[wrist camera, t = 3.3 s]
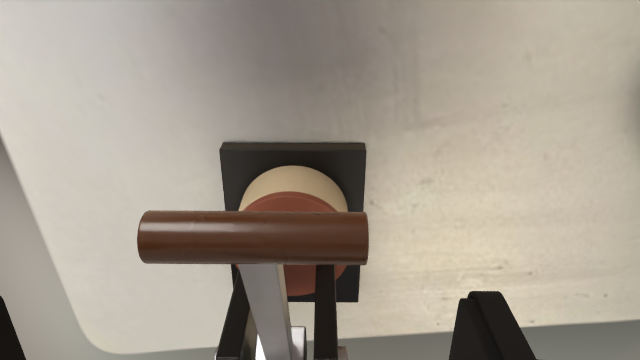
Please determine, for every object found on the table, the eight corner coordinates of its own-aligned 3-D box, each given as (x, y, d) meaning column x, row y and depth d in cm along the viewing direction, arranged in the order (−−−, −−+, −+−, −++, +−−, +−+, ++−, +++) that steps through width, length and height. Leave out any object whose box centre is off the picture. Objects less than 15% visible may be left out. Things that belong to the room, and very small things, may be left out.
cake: (285, 143, 28) (280, 172, 24) (369, 208, 30) (376, 243, 26) (219, 218, 30) (205, 254, 27) (301, 273, 32) (299, 314, 29)
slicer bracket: (222, 142, 29) (150, 283, 17) (364, 143, 29) (395, 285, 17) (237, 290, 35) (189, 479, 22) (357, 291, 35) (375, 481, 22)
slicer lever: (149, 185, 13) (126, 263, 11) (365, 187, 13) (371, 265, 11) (225, 345, 23) (218, 397, 22) (344, 346, 23) (346, 398, 22)
